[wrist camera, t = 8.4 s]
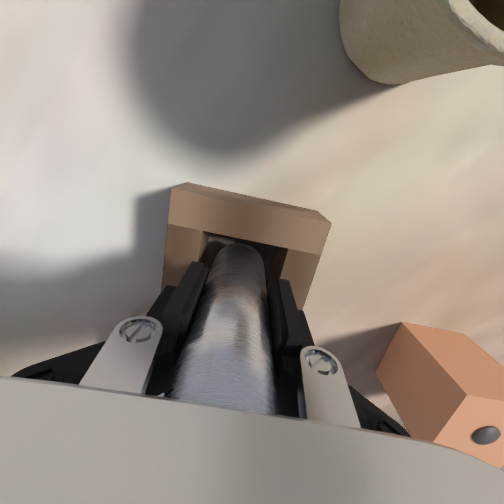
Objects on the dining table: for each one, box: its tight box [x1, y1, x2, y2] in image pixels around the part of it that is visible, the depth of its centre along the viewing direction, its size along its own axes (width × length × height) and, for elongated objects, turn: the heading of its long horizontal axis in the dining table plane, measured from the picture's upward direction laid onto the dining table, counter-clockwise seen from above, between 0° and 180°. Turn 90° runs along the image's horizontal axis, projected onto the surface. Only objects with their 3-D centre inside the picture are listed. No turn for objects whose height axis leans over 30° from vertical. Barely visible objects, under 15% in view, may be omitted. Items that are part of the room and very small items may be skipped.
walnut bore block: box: [161, 182, 332, 310], centre depth 15 cm, size 8×8×3 cm
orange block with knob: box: [375, 322, 504, 468], centre depth 16 cm, size 5×5×6 cm
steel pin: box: [163, 243, 279, 415], centre depth 9 cm, size 3×3×12 cm
